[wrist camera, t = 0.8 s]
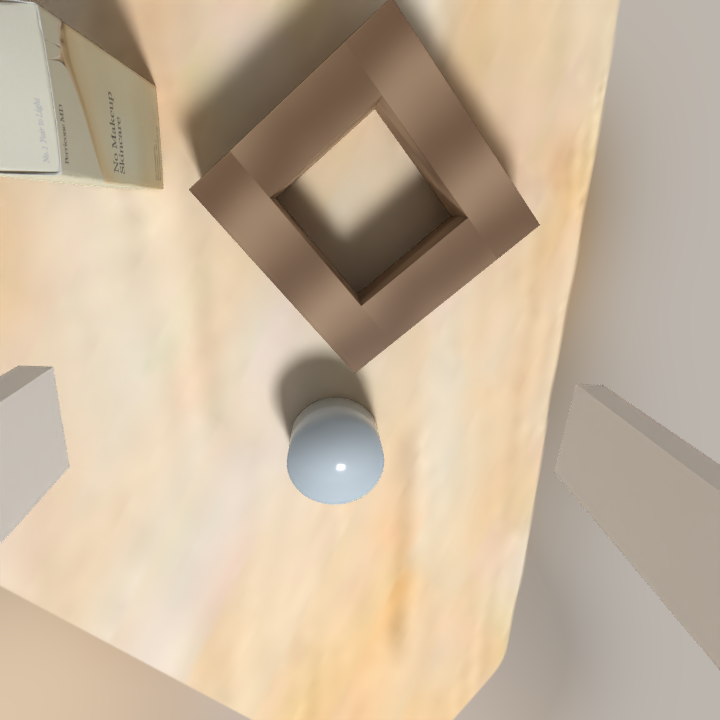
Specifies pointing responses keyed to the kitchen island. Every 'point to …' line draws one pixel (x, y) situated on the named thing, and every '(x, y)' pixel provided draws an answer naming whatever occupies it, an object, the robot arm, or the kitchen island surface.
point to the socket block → (424, 147)
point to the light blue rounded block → (335, 451)
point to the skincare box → (72, 107)
